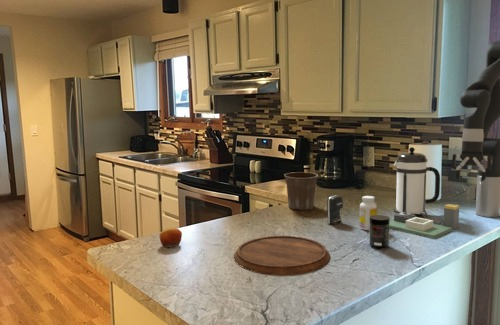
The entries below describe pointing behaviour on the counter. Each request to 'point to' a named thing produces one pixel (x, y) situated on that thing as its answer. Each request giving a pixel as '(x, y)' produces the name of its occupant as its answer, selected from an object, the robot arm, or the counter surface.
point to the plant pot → (301, 189)
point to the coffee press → (413, 183)
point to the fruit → (170, 237)
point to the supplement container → (379, 231)
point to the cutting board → (282, 255)
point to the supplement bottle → (367, 211)
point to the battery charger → (334, 209)
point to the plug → (451, 216)
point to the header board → (417, 225)
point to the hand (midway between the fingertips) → (470, 180)
